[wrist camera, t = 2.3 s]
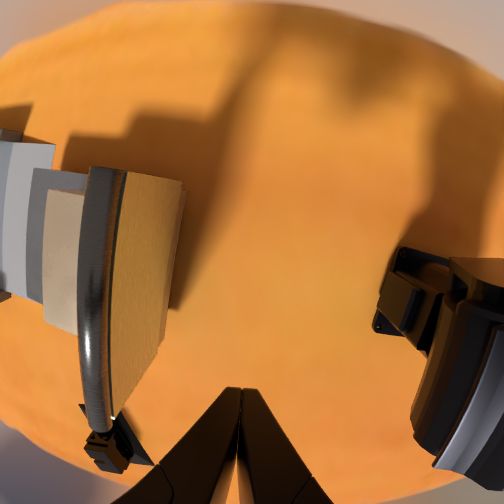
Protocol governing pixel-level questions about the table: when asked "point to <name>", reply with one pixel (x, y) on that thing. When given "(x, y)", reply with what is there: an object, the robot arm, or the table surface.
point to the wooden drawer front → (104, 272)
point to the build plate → (115, 447)
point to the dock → (16, 206)
